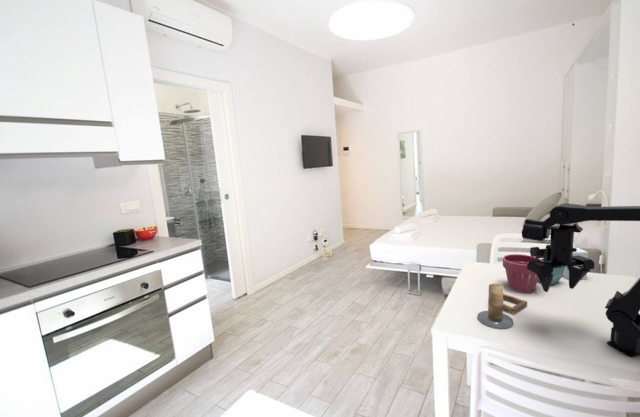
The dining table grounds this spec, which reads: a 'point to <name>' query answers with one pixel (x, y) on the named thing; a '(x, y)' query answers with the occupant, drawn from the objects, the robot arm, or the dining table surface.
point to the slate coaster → (504, 324)
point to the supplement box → (578, 252)
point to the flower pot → (555, 273)
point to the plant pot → (520, 272)
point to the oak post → (495, 303)
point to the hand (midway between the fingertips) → (558, 289)
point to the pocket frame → (520, 303)
